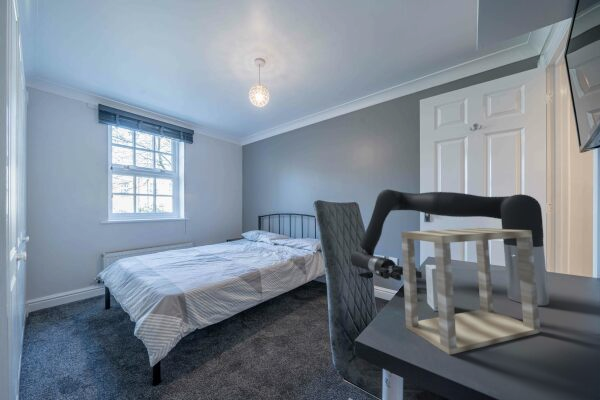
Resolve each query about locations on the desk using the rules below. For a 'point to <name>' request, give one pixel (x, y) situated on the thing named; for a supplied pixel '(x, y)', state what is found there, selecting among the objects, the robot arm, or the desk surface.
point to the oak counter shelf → (477, 319)
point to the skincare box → (431, 287)
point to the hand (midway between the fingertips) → (410, 276)
